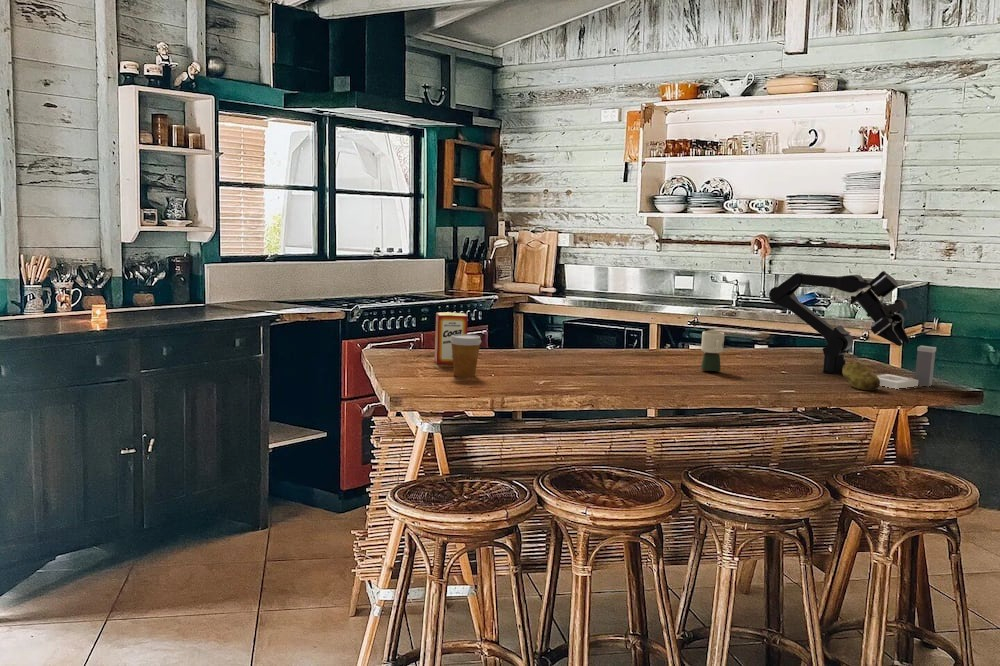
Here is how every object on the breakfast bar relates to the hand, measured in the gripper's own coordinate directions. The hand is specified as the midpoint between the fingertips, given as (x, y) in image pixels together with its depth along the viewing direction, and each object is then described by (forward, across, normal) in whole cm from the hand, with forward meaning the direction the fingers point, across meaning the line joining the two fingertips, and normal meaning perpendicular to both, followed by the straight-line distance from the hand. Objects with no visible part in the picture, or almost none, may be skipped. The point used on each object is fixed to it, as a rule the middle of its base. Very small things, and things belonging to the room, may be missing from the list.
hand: (905, 343), depth 316 cm
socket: (+8, -8, +10) cm, 15 cm away
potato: (+4, -21, +14) cm, 26 cm away
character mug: (-28, -32, +46) cm, 62 cm away
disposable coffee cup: (-63, -99, +81) cm, 143 cm away
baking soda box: (-76, -84, +93) cm, 147 cm away
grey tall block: (+14, 0, +4) cm, 14 cm away
